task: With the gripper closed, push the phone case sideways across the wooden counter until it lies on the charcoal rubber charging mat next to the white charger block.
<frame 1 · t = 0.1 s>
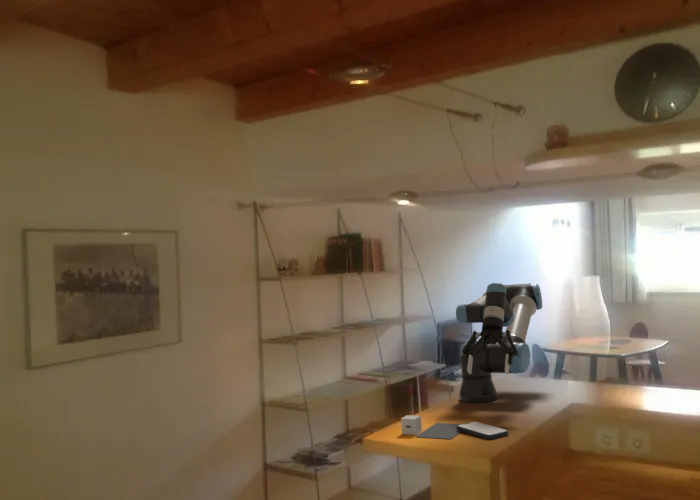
hand: (487, 372, 225), 15 cm above the kitchen counter, tool tilted 35°, fingers open, 13 cm apart
phone case: (482, 433, 203), on the kitchen counter, touching charging mat
charging mat: (443, 430, 209), on the kitchen counter
charger block: (412, 432, 210), on the kitchen counter
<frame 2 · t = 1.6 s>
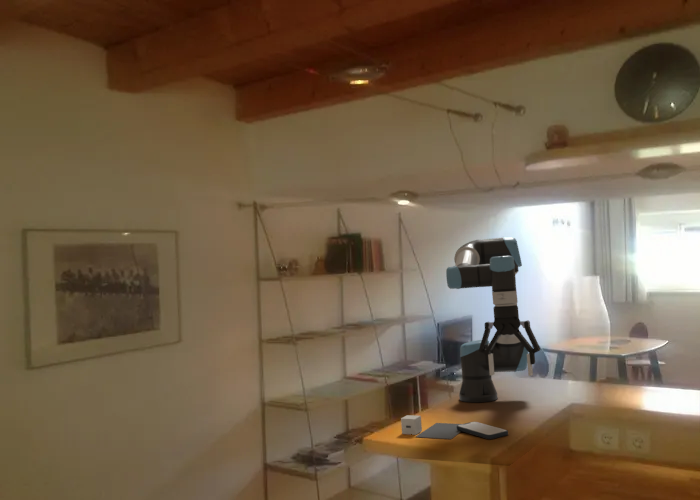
hand: (511, 375, 198), 19 cm above the kitchen counter, tool pointing down, fingers open, 11 cm apart
nothing on the kitchen counter moved.
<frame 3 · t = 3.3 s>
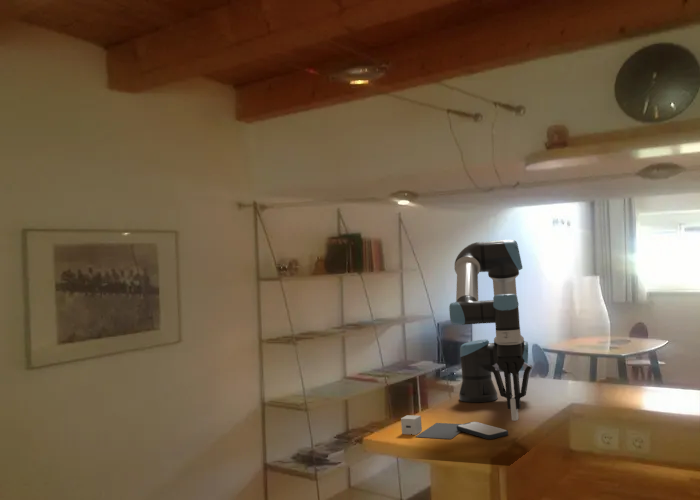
hand: (515, 419, 197), 5 cm above the kitchen counter, tool pointing down, fingers closed
nothing on the kitchen counter moved.
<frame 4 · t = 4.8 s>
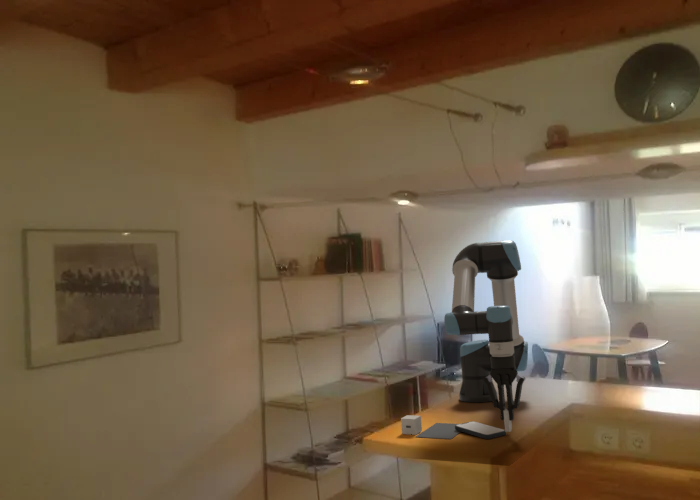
hand: (508, 430, 199), 1 cm above the kitchen counter, tool pointing down, fingers closed
phone case: (480, 433, 203), on the kitchen counter, touching gripper
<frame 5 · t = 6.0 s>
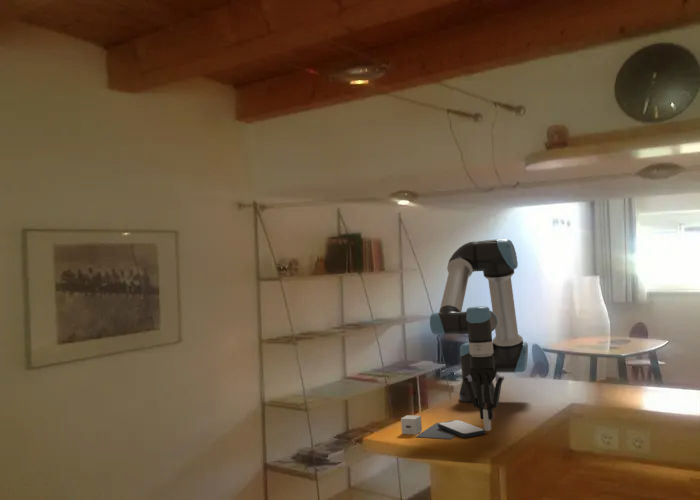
hand: (487, 429, 202), 1 cm above the kitchen counter, tool pointing down, fingers closed
phone case: (461, 431, 206), on the kitchen counter, touching charging mat, gripper
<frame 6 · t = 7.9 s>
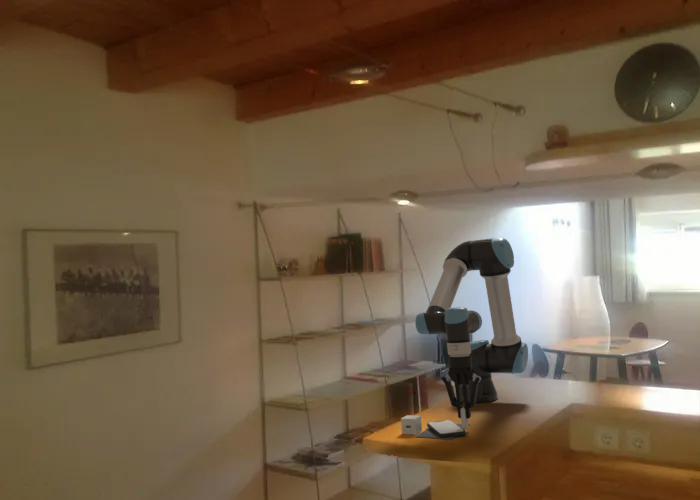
hand: (465, 428, 205), 1 cm above the kitchen counter, tool pointing down, fingers closed
phone case: (445, 431, 207), resting on charging mat, touching gripper
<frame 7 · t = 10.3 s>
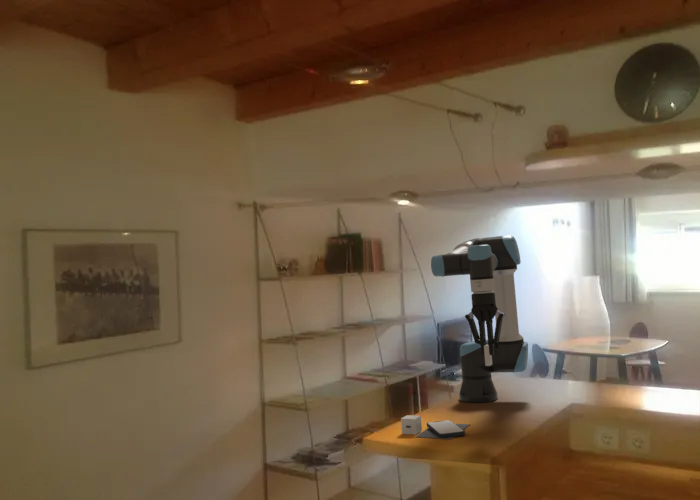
hand: (488, 365, 206), 21 cm above the kitchen counter, tool pointing down, fingers closed
phone case: (445, 431, 207), resting on charging mat
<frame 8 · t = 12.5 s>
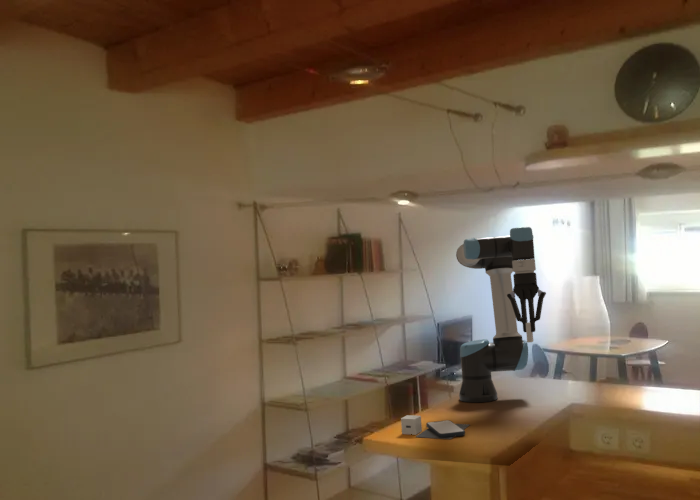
hand: (530, 341, 215), 26 cm above the kitchen counter, tool pointing down, fingers closed
nothing on the kitchen counter moved.
at the end: phone case inside the target area on the charging mat (1.4 cm from its centre), point 0.0 cm above the charging mat's base; phone case moved 12.0 cm from its start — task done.
